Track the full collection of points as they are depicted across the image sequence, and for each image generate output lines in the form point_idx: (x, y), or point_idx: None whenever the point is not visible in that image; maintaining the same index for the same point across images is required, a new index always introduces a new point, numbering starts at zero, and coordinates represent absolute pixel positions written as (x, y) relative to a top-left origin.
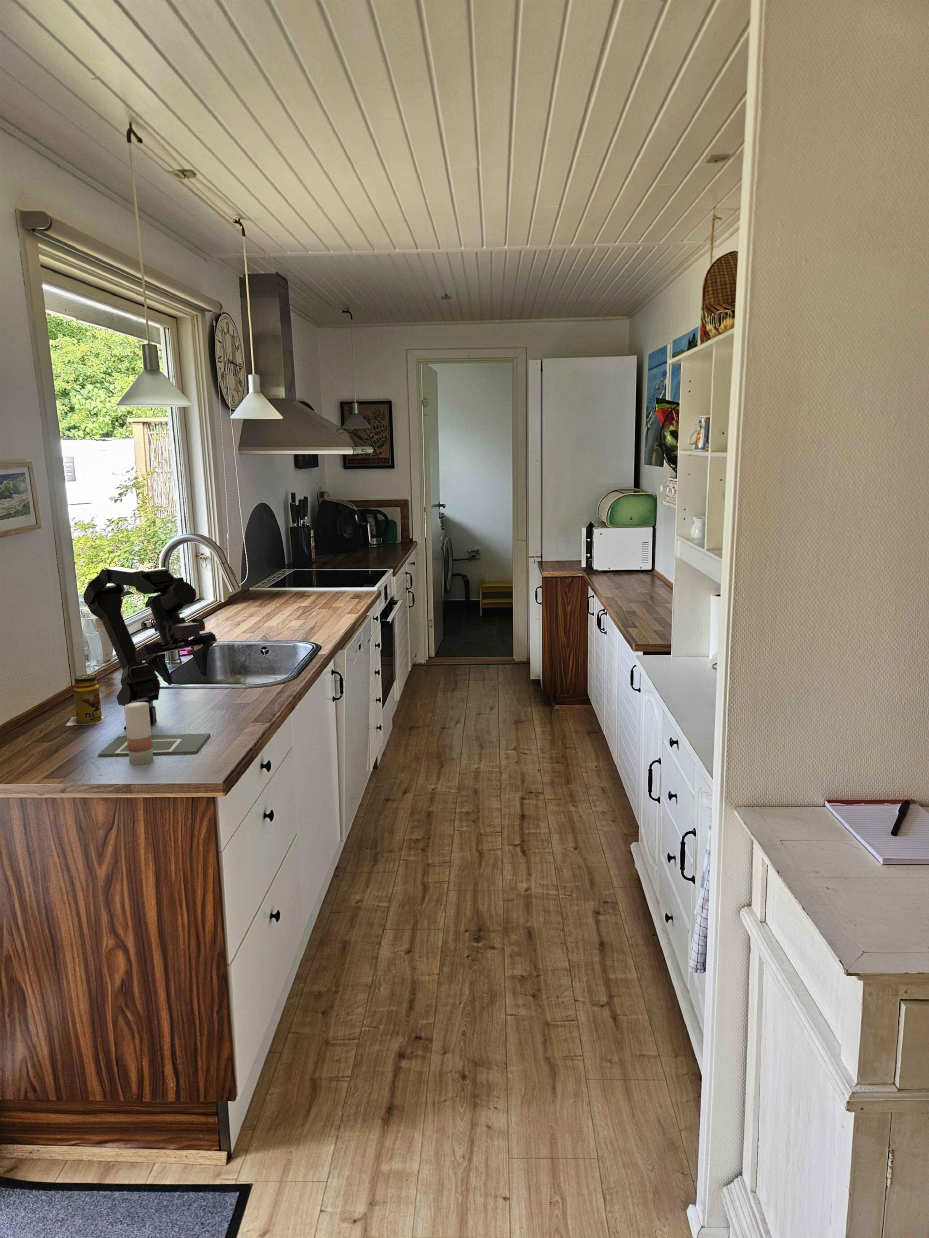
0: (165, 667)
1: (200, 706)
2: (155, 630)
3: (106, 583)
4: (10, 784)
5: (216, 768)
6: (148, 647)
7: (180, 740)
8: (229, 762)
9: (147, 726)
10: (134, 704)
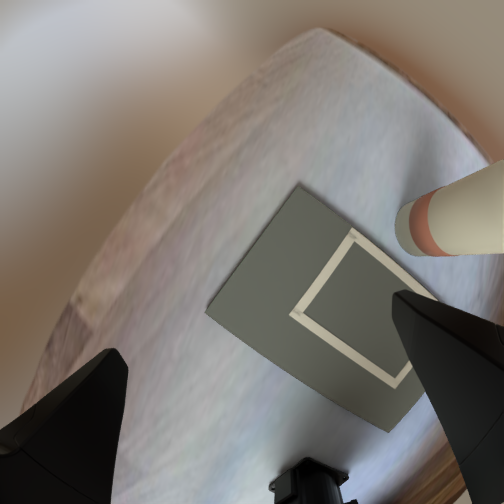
0: (502, 348)
1: (156, 498)
2: None
3: None
4: None
5: (294, 73)
6: None
7: (297, 305)
8: (257, 86)
9: (455, 182)
10: None
